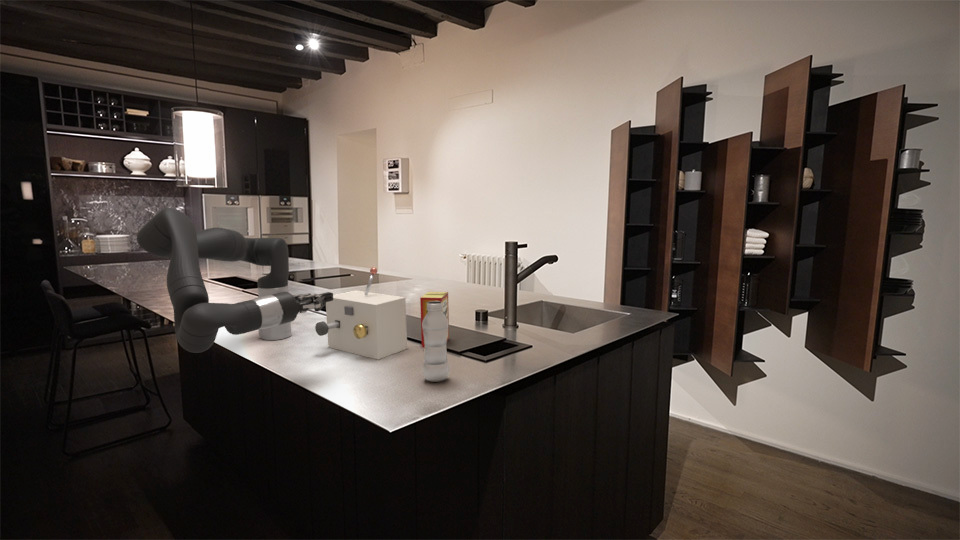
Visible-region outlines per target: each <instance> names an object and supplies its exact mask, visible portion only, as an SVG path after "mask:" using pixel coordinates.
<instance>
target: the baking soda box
mask: <svg viewBox="0 0 960 540" xmlns="http://www.w3.org/2000/svg"><path fill="white" fill-rule="evenodd" d="M419 299H420V301H419V303H420V335H421V348H425V344H424V335H423V328H422V322H423V319H424V318H425V316H426V314H427V313H428V311H427V302H430V301H440V302H442V307H443V310H441V311H442V313H443V314H444V315H445V317H446V318H447V320H448V332H447V340H448V339H449V340H450V323H449V321H450V317H449V315H450V313H449V310H450V309H449V291H427V292H426V293H425V294H423V295H422V296H421V297H420V298H419ZM449 340H448V341H449Z"/></svg>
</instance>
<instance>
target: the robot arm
mask: <svg viewBox="0 0 960 540" xmlns="http://www.w3.org/2000/svg"><path fill="white" fill-rule="evenodd" d="M194 224H195V223H194V222H193V221H192V219H191V218H190V217H189V216H188V215H186V214H185V213H184V212H182V211H180V210H179V209H176V208H173V207H166V208H163V209H161V210H160V211H158V212H157V213H156V214H155V215H154V216H152V217H151V219H149V220H148V221H147V222H146V223H145V224H144V225H143V226H142V227H141V228H140V229H139V231H138V233H137V235H136V241H137V244H138V245H139V247H140V248H141V249H142V250H143V251H145V252H147V254H148V253H149V254H150V255H153V256H155V257H158V258H163V259H164V258H165V259H170V260H169V263H168V264H169V265H168V268H167V274H166V287H167V288H166V289H167V292H168V296H169V298H170V299H169V300H170V302H171V306H172V308H173V309H172V310H173V321H174V323H173V324H174V332H175V337H176V340H177V342H178V344H179V346H180V347H181V348H182V349H183V350H185V351H187V352H189V353H194V354H198V353H200V354H201V353H203V352H205V351H207V350H209V349H210V348H211V347H212V346H213V345H214V343H215V342H216V338H217V335H218V332H219V329H221V328H225V330H226V331H227V333H229V334H231V335H234V336H236V335H237V336H238V335H243V334H247V333H250V332H251V333H252V332H255V331H258V338H259V339H262V340H265V341H277V340H282V339H283V340H284V339H287V338H289V337H291V336H292V322H293V321H296V318H297V317H298V314H304V313H307V312H308V311H310V310H314V312H320V311H321V310H322V309H323V308H324V307H326V302H329V301H333V295H334V293H333V292H329V291H327V292H321V293H318V294H317V293H313V294H312V293H303V294H292V293H290V292H289V276H290V265H289V263H290V261H289V258H290V257H289V247H288V243H287V242H286V240H285V239H284V238H280V237H255V238H254V237H252V238H251V237H250V238H249V237H245V236H244V235H243V234H242V233H240V232H239V231H237V230H233V229H230V228H225V227H224V228H223V227H211V228H210V227H209V228H205V229H201V230H198V231H197V229H196V226H195V225H194ZM200 259H203V260H205V259H206V260H214V261H221V262H232V263H233V262H234V263H235V262H239V261H242V262H244V263H250V264H252V265H256V266H261V267H270V272H269V273H268V274H267V275H264V276H260V277H259V278H258V279H257V291H258V292H257V293H258V297H255V298H252V299H250V300H249V299H248V300H245V301H244V300H243V301H239V302H235V303H227V302H226V303H225V302H224V303H223V302H210V300H209V299H210V298H209V294H208V291H207V287H206V284H205V283H204V279H203V275H202V271H201V266H200Z"/></svg>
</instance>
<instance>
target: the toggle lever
mask: <svg viewBox="0 0 960 540" xmlns="http://www.w3.org/2000/svg"><path fill="white" fill-rule="evenodd" d="M369 273H370V276H369V279H368V281H367V284H366V288H365V291H364V292H365V293H364V294H365V295H366V296H367V295H368V292H370V289H371V286H372V283H373V280H374V277H375V275H376V274H377V273H378V268H376V267H371V268H370V269H369Z"/></svg>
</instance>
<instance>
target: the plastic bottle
mask: <svg viewBox="0 0 960 540" xmlns="http://www.w3.org/2000/svg"><path fill="white" fill-rule="evenodd" d="M441 310H443V307H442V302H440V301H430V302H427V311H428V313H427V314H426V316H425V318H424V319H423V322H422V328H423V335H424V344H425V347H424V354H423V355H424V357H423V364H422V375H423V378H424V379H425V380H426V381H427V382H433V383H434V382H435V383H436V382H437V383H438V382H443V381H445V380H447V379H448V377H449V373H450V365H449V361H448V354H447V353H448V352H447V350H448V349H447V343H448V341H447V332H448V320H447V318H446V317H445V315H444V314H443V313H442V311H441Z"/></svg>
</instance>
